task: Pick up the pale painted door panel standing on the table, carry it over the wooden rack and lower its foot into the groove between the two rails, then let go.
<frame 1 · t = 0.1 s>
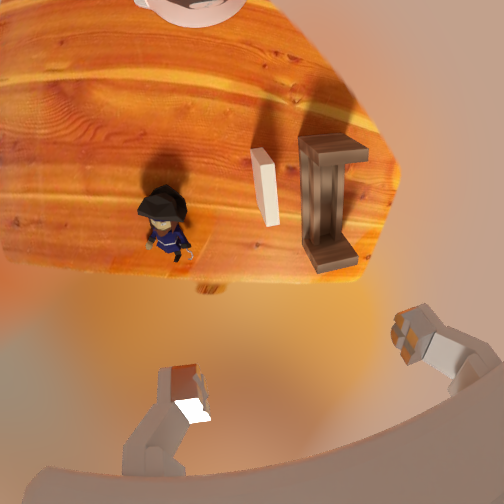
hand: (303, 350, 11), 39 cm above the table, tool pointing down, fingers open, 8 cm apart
wooden rack: (321, 192, 51), on the table
toy: (167, 220, 50), on the table
door panel: (259, 175, 48), on the table
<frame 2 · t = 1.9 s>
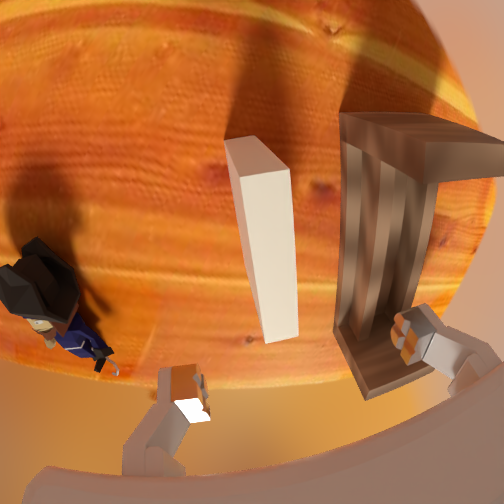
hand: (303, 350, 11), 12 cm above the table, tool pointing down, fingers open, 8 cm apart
wooden rack: (379, 238, 24), on the table
toy: (69, 300, 22), on the table
door panel: (249, 206, 20), on the table
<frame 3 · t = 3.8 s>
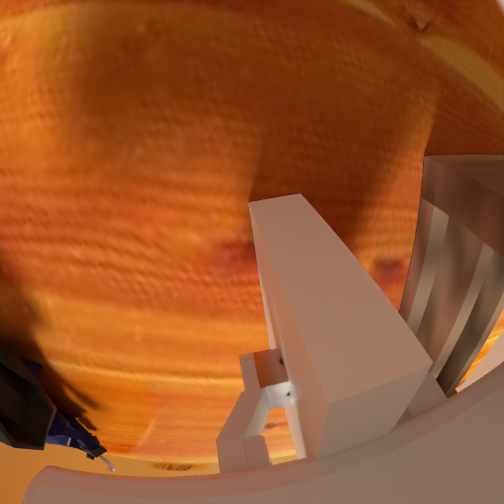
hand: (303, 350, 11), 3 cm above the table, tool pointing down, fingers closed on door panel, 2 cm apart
wooden rack: (438, 312, 17), on the table
toy: (47, 389, 15), on the table
door panel: (284, 299, 13), on the table, touching gripper
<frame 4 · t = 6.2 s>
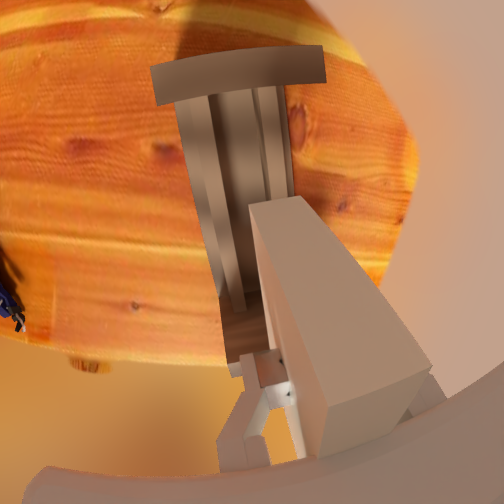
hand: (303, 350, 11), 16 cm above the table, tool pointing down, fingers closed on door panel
wooden rack: (244, 198, 24), on the table
door panel: (284, 300, 13), point 13 cm above the table, touching gripper
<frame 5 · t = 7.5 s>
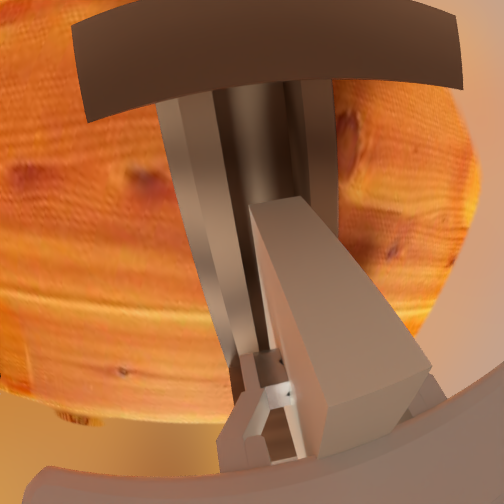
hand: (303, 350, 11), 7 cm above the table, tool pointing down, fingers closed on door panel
wooden rack: (266, 248, 17), on the table
door panel: (284, 301, 13), point 4 cm above the table, touching gripper
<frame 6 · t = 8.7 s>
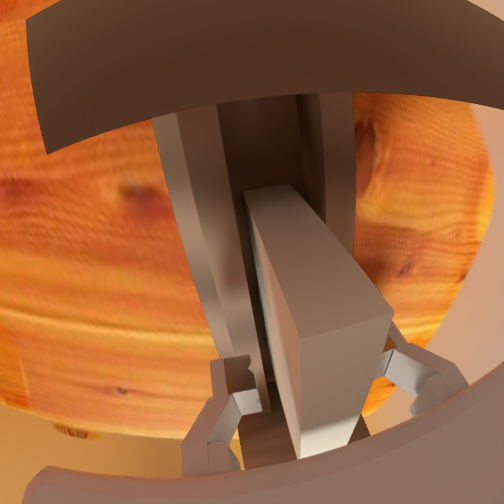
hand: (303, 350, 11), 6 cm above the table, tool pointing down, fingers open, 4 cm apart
wooden rack: (273, 270, 15), on the table
door panel: (276, 281, 15), point 1 cm above the table, touching wooden rack
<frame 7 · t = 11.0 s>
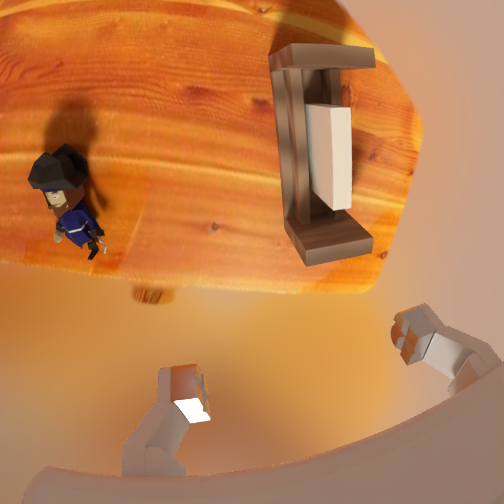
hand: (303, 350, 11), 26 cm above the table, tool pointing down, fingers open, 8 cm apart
wooden rack: (310, 143, 33), on the table
toy: (77, 200, 32), on the table
door panel: (312, 144, 32), point 1 cm above the table, touching wooden rack
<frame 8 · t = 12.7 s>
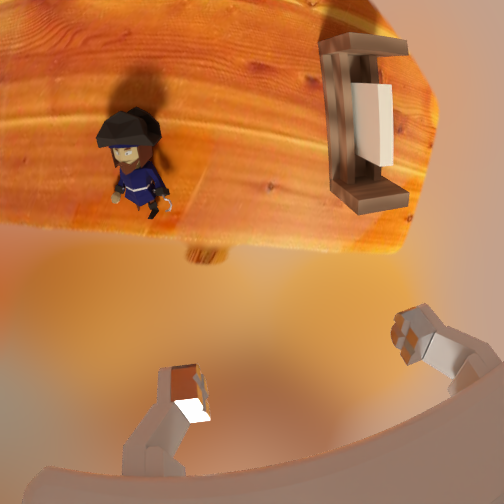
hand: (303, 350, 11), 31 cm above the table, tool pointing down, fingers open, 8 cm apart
wooden rack: (351, 116, 36), on the table
toy: (139, 162, 35), on the table
door panel: (354, 117, 35), point 1 cm above the table, touching wooden rack
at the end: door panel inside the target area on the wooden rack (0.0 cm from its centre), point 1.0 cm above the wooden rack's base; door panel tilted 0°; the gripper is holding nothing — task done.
